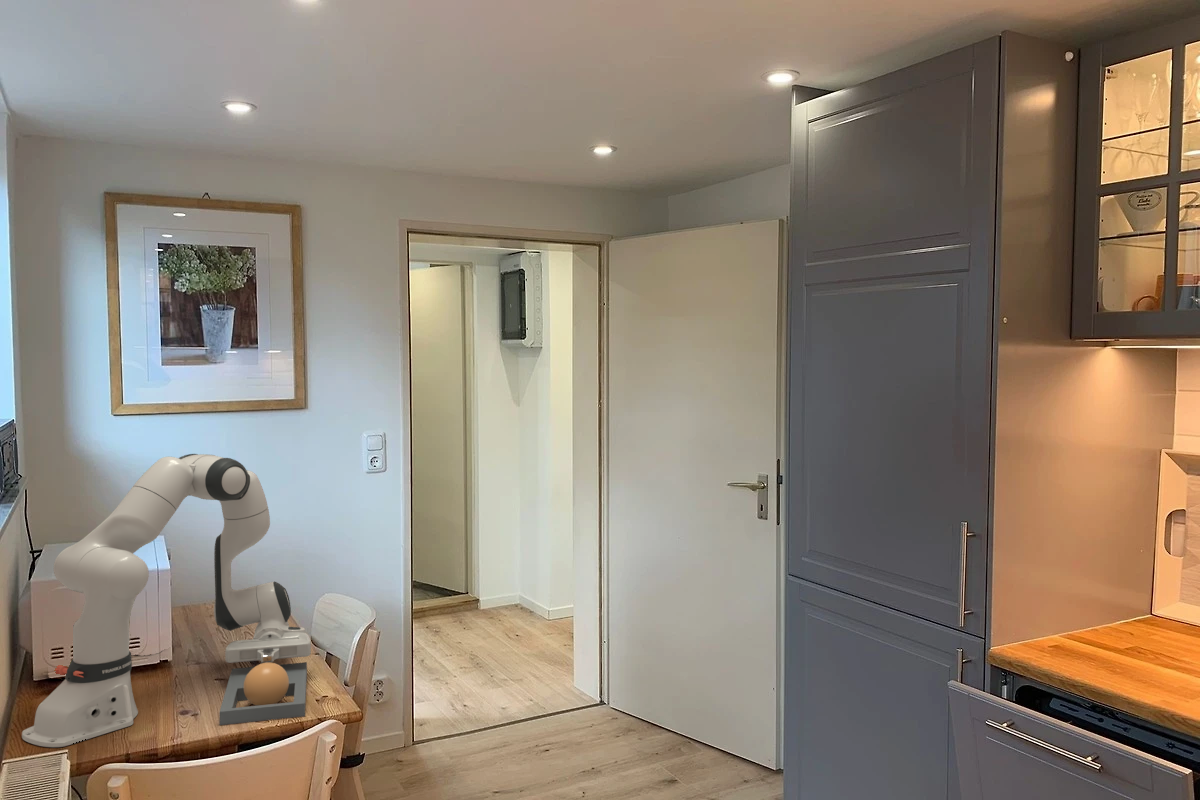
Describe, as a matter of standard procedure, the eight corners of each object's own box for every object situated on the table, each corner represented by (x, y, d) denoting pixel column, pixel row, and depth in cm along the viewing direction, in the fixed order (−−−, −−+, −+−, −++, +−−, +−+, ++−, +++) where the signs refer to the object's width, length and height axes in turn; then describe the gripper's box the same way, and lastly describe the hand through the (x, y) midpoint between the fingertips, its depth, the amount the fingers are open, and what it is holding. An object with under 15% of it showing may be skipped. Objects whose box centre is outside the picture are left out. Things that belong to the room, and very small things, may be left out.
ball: (268, 663, 213) (268, 706, 211) (234, 665, 205) (233, 710, 202) (297, 659, 209) (298, 703, 206) (264, 662, 201) (264, 707, 198)
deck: (232, 680, 222) (232, 668, 222) (306, 673, 227) (306, 662, 227) (219, 725, 194) (219, 711, 194) (304, 716, 200) (304, 703, 200)
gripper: (227, 633, 224) (221, 650, 211) (311, 627, 231) (310, 642, 217) (227, 657, 225) (221, 675, 211) (311, 650, 231) (310, 667, 218)
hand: (267, 659), depth 215 cm, fingers closed
